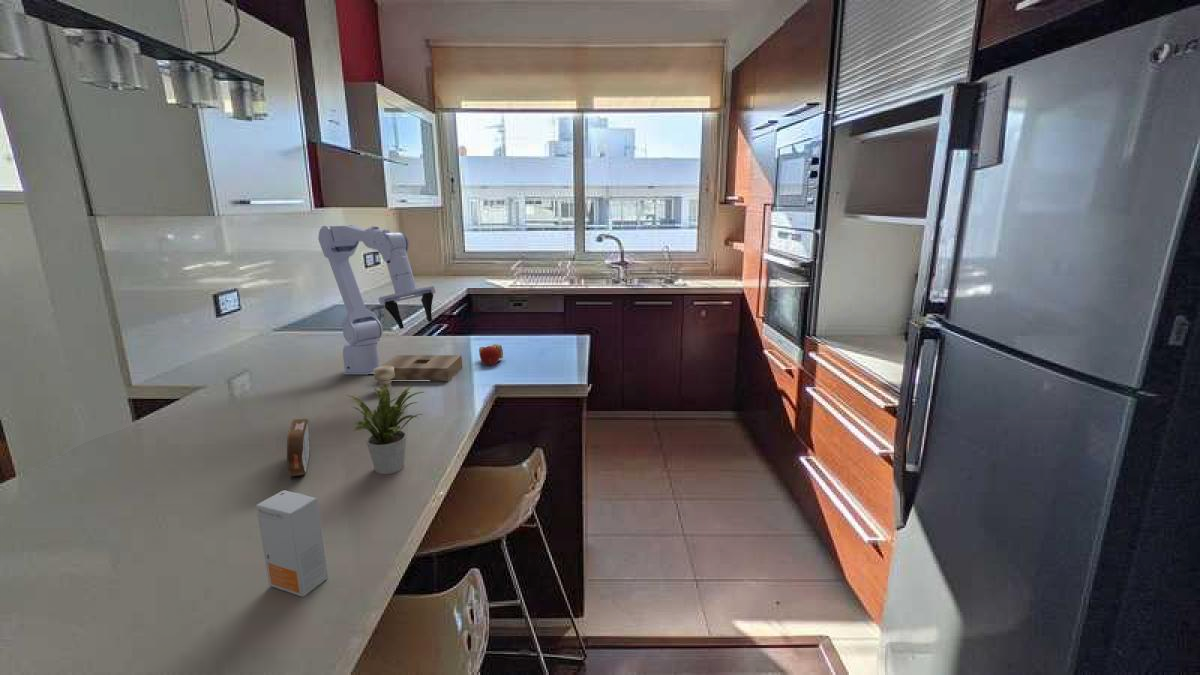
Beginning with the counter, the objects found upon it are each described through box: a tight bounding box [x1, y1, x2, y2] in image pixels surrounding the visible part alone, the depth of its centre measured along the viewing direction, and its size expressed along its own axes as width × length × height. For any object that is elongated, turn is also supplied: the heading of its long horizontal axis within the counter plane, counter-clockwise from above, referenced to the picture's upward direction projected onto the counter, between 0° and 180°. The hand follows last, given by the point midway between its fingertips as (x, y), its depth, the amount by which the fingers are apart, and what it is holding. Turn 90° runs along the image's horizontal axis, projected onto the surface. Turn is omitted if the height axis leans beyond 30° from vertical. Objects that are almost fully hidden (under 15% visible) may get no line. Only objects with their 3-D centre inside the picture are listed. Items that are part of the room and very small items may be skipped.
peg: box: [373, 365, 395, 390], centre depth 148 cm, size 5×5×6 cm
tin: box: [286, 418, 311, 478], centre depth 104 cm, size 15×3×8 cm, turn 23°
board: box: [380, 354, 463, 382], centre depth 161 cm, size 20×14×4 cm
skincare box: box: [255, 489, 329, 598], centre depth 70 cm, size 6×4×12 cm
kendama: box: [478, 343, 504, 366], centre depth 177 cm, size 8×6×18 cm
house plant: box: [347, 384, 424, 475], centre depth 101 cm, size 14×14×16 cm
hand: (416, 324), depth 147 cm, fingers open, 7 cm apart
